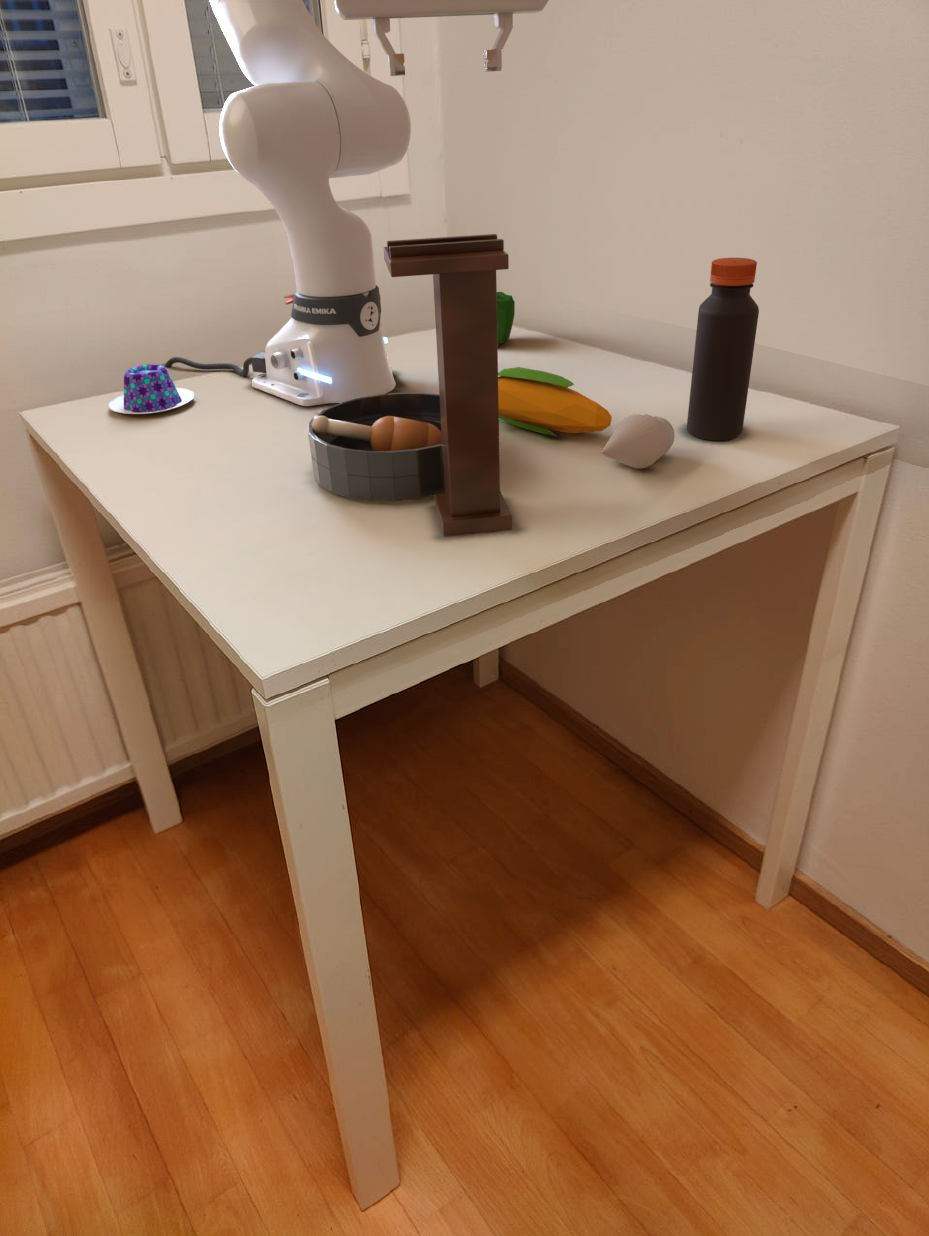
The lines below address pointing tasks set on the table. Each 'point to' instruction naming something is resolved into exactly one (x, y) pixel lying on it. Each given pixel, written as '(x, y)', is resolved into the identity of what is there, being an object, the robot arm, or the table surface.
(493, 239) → the stand
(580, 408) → the corn
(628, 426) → the ice cream cone
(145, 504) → the table surface
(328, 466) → the bowl
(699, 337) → the bottle
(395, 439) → the drumstick
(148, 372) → the pudding
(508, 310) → the bell pepper
